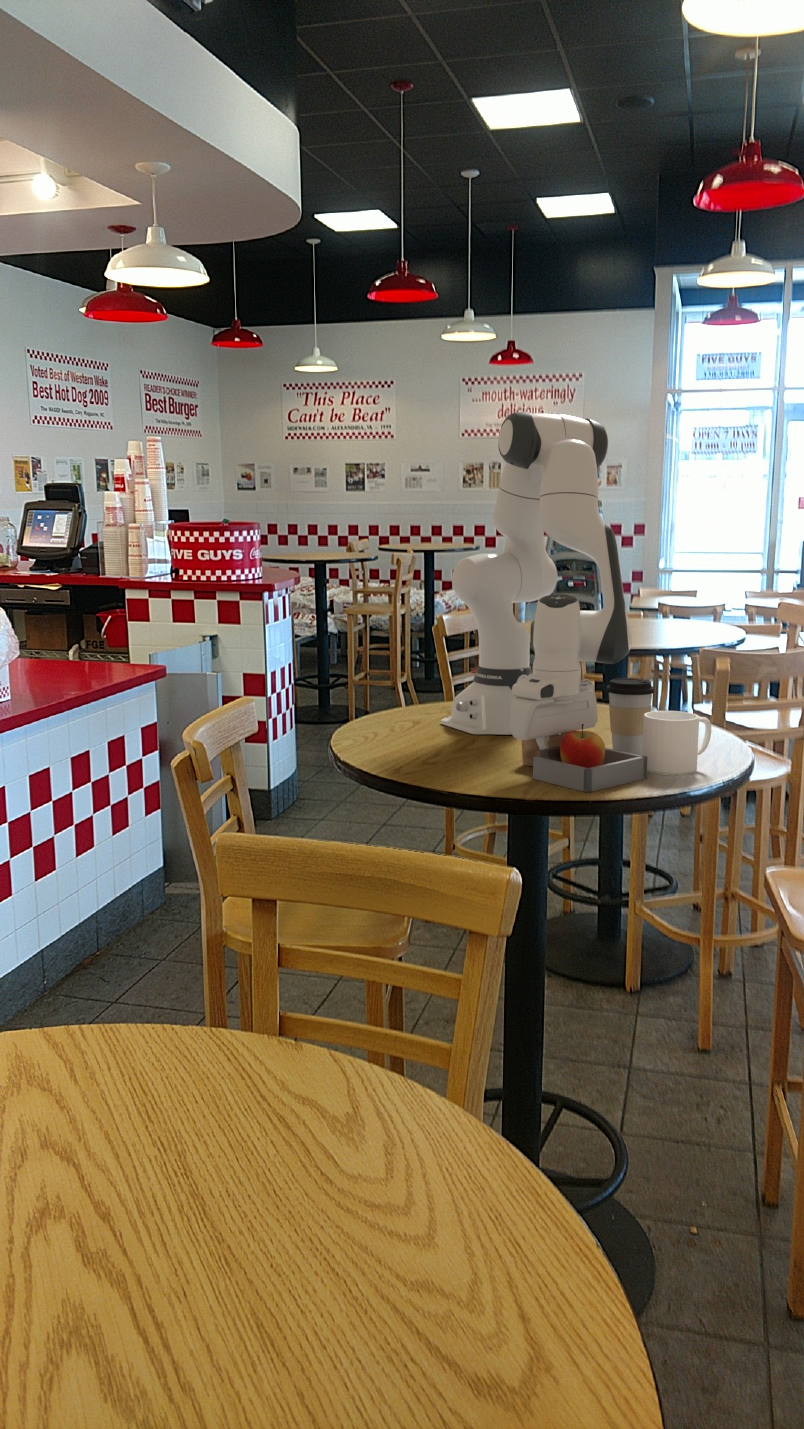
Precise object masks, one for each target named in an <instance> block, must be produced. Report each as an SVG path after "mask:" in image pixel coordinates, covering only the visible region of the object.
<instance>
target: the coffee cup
mask: <svg viewBox="0 0 804 1429" xmlns="http://www.w3.org/2000/svg"><path fill="white" fill-rule="evenodd" d="M605 692H606V693H608V700H609V701H608V702H609V704H608V710H609V723H610V724H609V727H610V732H611V739H612V740H611V741H612V743H611V744H612V749H613V750H618V751H622V752H627V753H632V754H637V755H642V753H643V727H644V714H645V713H647V712H652V711H651V710H652V700H653V699H652V698H653V694H654V693H656V692H655V687H654V686H652V680H651V681H650V680H648V679H643V678H632V677H631V678H630V677H620V678H619V677H618V678H613V679H610V680H609V684H608V685H606V689H605Z"/></svg>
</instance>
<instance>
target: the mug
mask: <svg viewBox="0 0 804 1429" xmlns="http://www.w3.org/2000/svg"><path fill="white" fill-rule="evenodd" d="M700 722H702V723H704V727H705V728H704V730H705V732H704V737H703V739H702V743H701V744H700V746H699V731H700ZM711 735H712V723H711V721H710V719H708V718H707V717H706V716H700V715H698V714H696V713H692V712H687V711H679V710H655V711H654V710H652V711H651V712H647V713H645V714H644V727H643V753H642V756H646V757H647V773H651V774H656V775H661V776H662V775H663V776H687V775H691V774H694V773H696V772H697V770H698V756H700V755H702V754H703V753H704V752H705V751H706V749H707V748H708V746H709V744H710V741H711Z"/></svg>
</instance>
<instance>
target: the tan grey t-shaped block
mask: <svg viewBox="0 0 804 1429" xmlns="http://www.w3.org/2000/svg"><path fill="white" fill-rule="evenodd" d="M562 739H563V735H561V734H556V735H551V736H549V741H548V742H547V743H548V746H549V748H548V749H543V750H540V748H539V746H538V744H537V742H536V738H535V739H530V740H522V739H521V755H522V757H521V759H522V765H523V766H529V767H533V757H542V758H546V759H550V760H555V761H559V762H562V761H561V757H560V746H561V742H562Z"/></svg>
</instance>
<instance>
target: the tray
mask: <svg viewBox="0 0 804 1429" xmlns="http://www.w3.org/2000/svg"><path fill="white" fill-rule="evenodd" d="M532 768H533V769H532V779H534V780H537V781H539V782H544V783H548V784H552V785H555V786H560V787H563V788H567V789H572V790H576V791H579V792H584V793H588V794H589V793H592V792H597V791H601V790H604V789H608V788H613V787H616V786H617V787H618V786H620V785H621V786H622V785H624V784H628V783H629V784H630V783H633V782H637V781H640V780H646V779H647V774H648V772H647V757H646V756H642V755H637V754H632V753H627V752H622V751H618V750H613V748H607V747H605V757H604V761H603V764H602V765H600V766H596V767H591V768H585V767H581V766H576V765H572V764H568V763H563V762H559V761H555V760H550V759H546V758H542V757H533V766H532Z"/></svg>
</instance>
